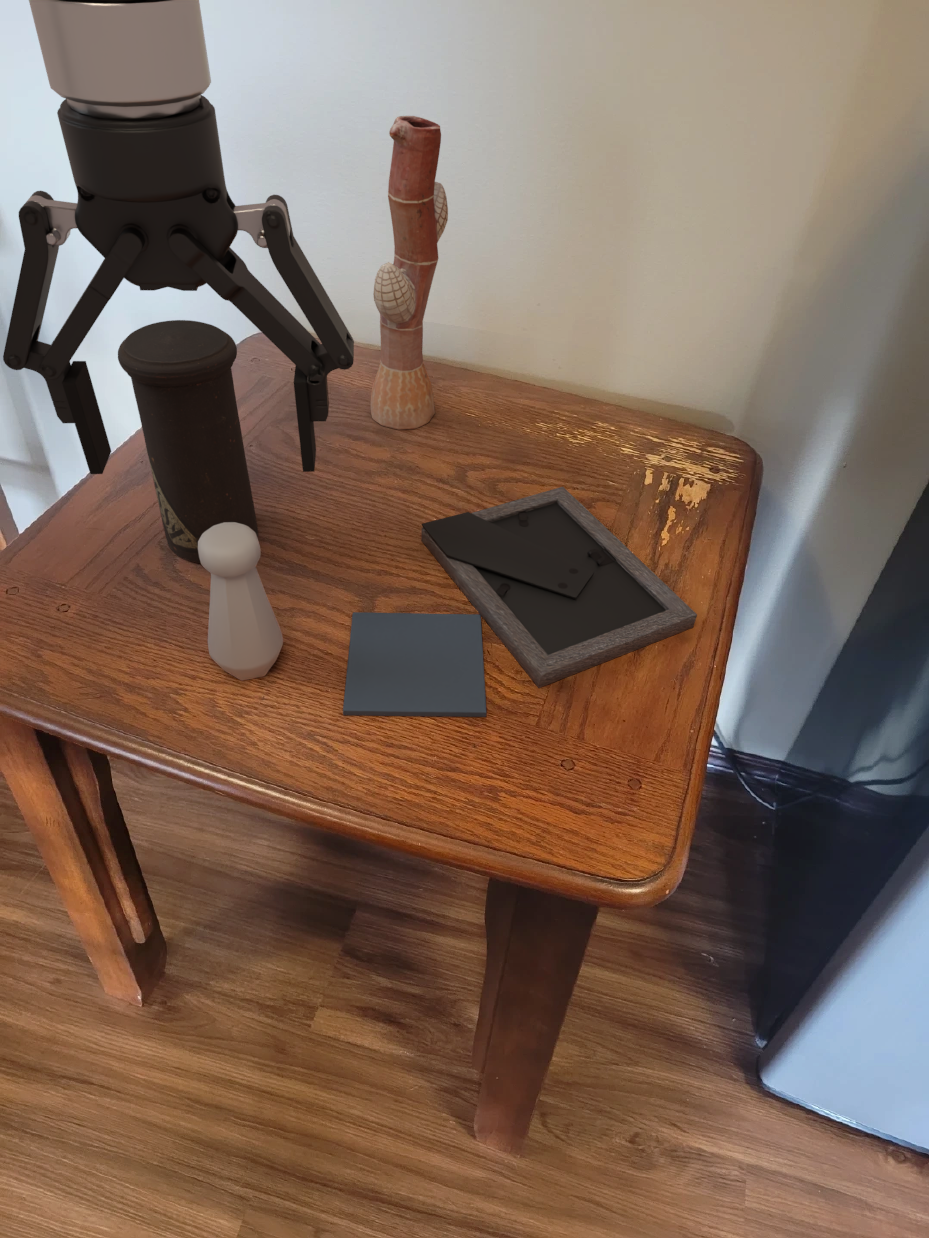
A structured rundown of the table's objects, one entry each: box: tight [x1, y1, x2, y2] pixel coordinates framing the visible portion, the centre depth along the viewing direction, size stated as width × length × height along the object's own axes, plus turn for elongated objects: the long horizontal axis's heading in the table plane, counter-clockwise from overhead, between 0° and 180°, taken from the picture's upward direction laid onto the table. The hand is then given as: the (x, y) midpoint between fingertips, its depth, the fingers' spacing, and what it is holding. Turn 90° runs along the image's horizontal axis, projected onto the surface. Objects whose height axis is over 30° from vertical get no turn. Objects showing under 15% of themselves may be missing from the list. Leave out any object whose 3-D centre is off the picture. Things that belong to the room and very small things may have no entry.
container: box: [117, 319, 259, 564], centre depth 73 cm, size 9×9×20 cm
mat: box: [342, 611, 487, 718], centre depth 69 cm, size 11×11×1 cm
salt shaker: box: [198, 522, 284, 682], centre depth 64 cm, size 6×6×13 cm
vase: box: [369, 115, 449, 431], centre depth 88 cm, size 11×7×30 cm
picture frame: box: [420, 486, 698, 689], centre depth 77 cm, size 16×2×21 cm
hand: (206, 462), depth 57 cm, fingers open, 13 cm apart
